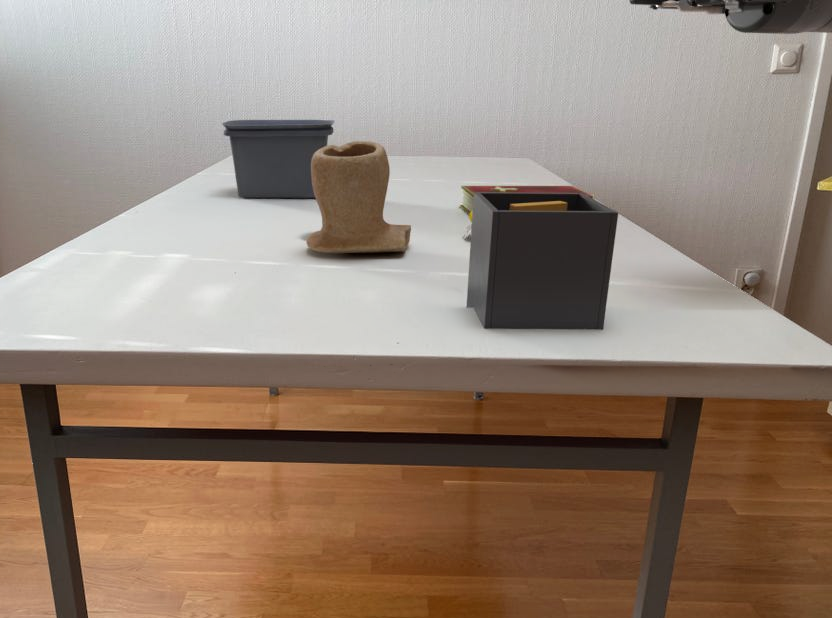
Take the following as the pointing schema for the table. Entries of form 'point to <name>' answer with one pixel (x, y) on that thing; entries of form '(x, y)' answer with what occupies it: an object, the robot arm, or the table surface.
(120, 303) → the table surface
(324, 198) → the stone cup
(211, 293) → the table surface
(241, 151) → the storage bin
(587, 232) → the trash bin
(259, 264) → the table surface
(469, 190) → the hardcover book
